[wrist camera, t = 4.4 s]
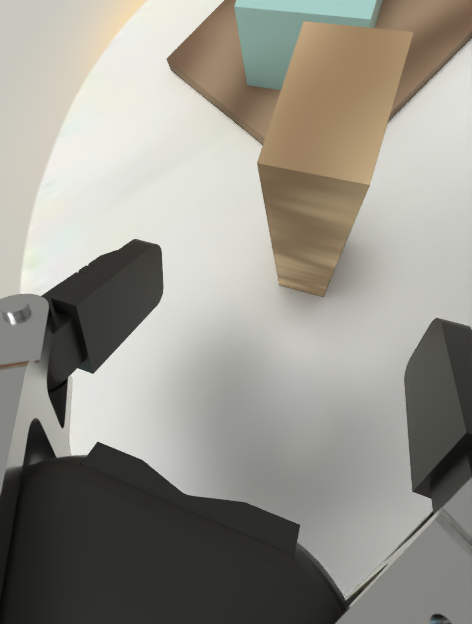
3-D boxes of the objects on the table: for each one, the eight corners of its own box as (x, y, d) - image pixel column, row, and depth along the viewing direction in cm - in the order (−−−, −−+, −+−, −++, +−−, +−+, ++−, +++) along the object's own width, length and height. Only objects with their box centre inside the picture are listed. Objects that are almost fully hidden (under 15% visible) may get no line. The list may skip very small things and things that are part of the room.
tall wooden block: (341, 233, 23) (413, 31, 9) (323, 296, 22) (369, 185, 9) (297, 223, 23) (303, 21, 10) (279, 284, 23) (257, 163, 9)
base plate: (483, 26, 23) (491, 11, 22) (319, 190, 23) (320, 182, 22) (312, -73, 27) (312, -89, 26) (171, 69, 27) (166, 58, 26)
